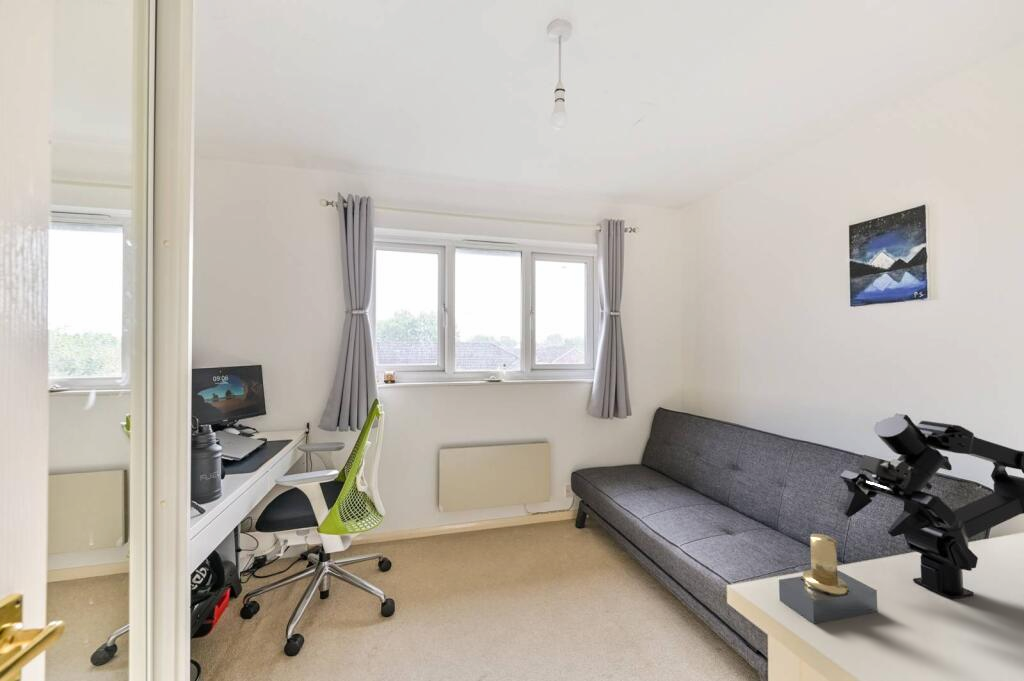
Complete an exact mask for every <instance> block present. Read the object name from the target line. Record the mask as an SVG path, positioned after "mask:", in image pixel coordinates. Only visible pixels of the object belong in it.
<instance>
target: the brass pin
mask: <svg viewBox="0 0 1024 681" xmlns="http://www.w3.org/2000/svg"><path fill="white" fill-rule="evenodd" d="M809 538H810V542H809V543H810V565H811V566H810V570H805V571H804V572H803V573H802V576H803V581H804V582H805V584H806V585H808V586H809V587H811V588H812V589H814V590H817V591H819V592H822V593H824V594H826V595H834V596H844V595H846V594H847V593H848V586H847V584H846V583H845V582H844V581H843V580H841V579H840V578H838V571H839V570H838V553H837V540H836V539H835V538H834V537H832V536H829V535H826V534H821V533H811V534H810V535H809Z"/></svg>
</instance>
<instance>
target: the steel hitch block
mask: <svg viewBox="0 0 1024 681" xmlns="http://www.w3.org/2000/svg"><path fill="white" fill-rule="evenodd" d="M837 571H838V578H840V579H841V580H843V581H844V582H845V583H846V584H847V586H848V593H847V594H846V595H844V596H834V595H826V594H824V593H822V592H819V591H817V590H814V589H812V588H811V587H809V586H808V585H806V584H805V582H804V581H803V575H801V576H796V577H787V578H781V579H778V589H779V590H778V592H779V597H778V598H779V601H780V602H782V603H783V604H784V605H786V606H787V607H788V608H790V609H791V610H793V611H795V612H796V613H797V614H799V615H800V616H801V617H804V618H805V619H806V620H808V621H809V622H810V623H812V624H819V623H826V622H831V621H836V620H842V619H846V618H847V619H848V618H851V617H857V616H863V615H867V614H874V613H878V595H877V594H878V592H877V591H878V590H876V589H875V588H873V587H871V586H869V585H867V584H865V583H863V582H862V581H859V580H857V579H856V578H854V577H852V576H850V575H849V574H847V573H846V574H845V573H844V572H842V571H840V570H837ZM873 612H874V613H873Z"/></svg>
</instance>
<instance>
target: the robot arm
mask: <svg viewBox="0 0 1024 681" xmlns="http://www.w3.org/2000/svg"><path fill="white" fill-rule="evenodd" d="M873 432H874V433H875V434H876V435H877V436H878V438H879V439H880V440H881V441H882V442H883V443H884V444H885V445H886V446H887V447H888V448H889V449H890V450H891V451H892V452H894V453H895V454H897V455H900V456H899V457H898V458H897V459H895V458H893V459H892V460H885V459H882V458H878V457H874V456H870V455H866V454H863V456H862V457H861V461H860V464H859V466H858V469H859V470H861V471H865V472H868V473H869V474H871V478H872V479H874V481H877V482H878V483H875V482H873V481H872V480H871V478H869V477H868V476H867V475H866V474H865V473H863V472H860V471H856V470H853V469H844V471H843V472H841V474H840V476H839V477H840V478H841V479H842V481H843V483H844V485H846V487H847V489H848V492H847V499H846V504H845V509H844V512H843V513H844V514H843V515H844V516H846V518H851V517H852V516H854V515H856V514H857V513H858V512H860V511H861V510H862V509H864V508H865V507H867V506H868V505H869V504H871V503H872V502H873V500H872V498H876V496H877V495H880V496H883V497H886V498H890V499H891V500H892V499H893V500H896V501H898V502H901V503H903V510H902V512H901V513H900V514H899V515H898V516H897V518H896V519H895V520H894V521H893V523H892V524H891V526H890V528H889V529H888V531H887V534H888V535H889V536H890V537H893V538H895V537H898V536H901V535H903V536H904V539H905V542H906V545H907V547H908V549H909V550H911V551H914V552H917V553H918V554H921V555H920V577H913V579H912V581H913V582H914V583H915V584H919V585H920V586H921V587H924V586H925V588H926V587H927V589H929V590H930V591H933V592H936V593H937V594H940V595H941V596H944V597H946V598H948V599H953V600H955V599H958V598H963V597H964V598H966V597H970V596H974V592H973V591H972V590H970V589H967V588H964V578H963V570H964V571H968V572H971V571H972V569H976V567H977V564H978V561H979V558H978V557H977V555H976V554H975V553H974V552H973V551H972V550H971V549H970V548H969V540H970V539H971V538H972V537H974V536H977V535H979V534H981V533H983V532H986V531H987V530H990V529H991V528H995V527H996V526H998V525H1000V524H1002V523H1004V522H1006V521H1007V522H1008V521H1010V520H1011V519H1013V518H1016V517H1017V516H1020V515H1024V477H1021V476H1016V475H1011V474H1008V472H1007V470H1006V468H1009V469H1015V470H1021V472H1022V474H1024V450H1019V449H1018V450H1017V449H1014V448H1012V447H1007V446H1005V445H1001V444H999V443H995V442H991V441H988V440H986V439H982V438H979V437H977V436H975V434H974V432H972V431H971V430H970V429H967V428H965V427H963V426H961V425H958V424H951V423H950V424H949V423H945V422H943V423H942V422H936V421H930V420H929V421H928V420H920V421H919V422H918V424H915V423H914V422H913V421H912V419H911V418H910V417H909V416H908V415H907V414H903V413H895V414H894V415H893V416H892V417H887V418H884V419H882V420H880V421H878V422H876V424H874V427H873ZM939 450H940V451H944V452H949V453H955V454H963V455H969V456H972V457H975V458H978V459H981V460H985V461H988V462H991V463H992V464H993V466H994V467H993V469H992V471H991V473H990V478H991V479H992V481H993V492H992V493H989V494H988V495H987V494H986V496H983V497H980V498H978V499H976V500H974V501H972V502H970V503H968V504H965V505H963V506H961V507H958V508H956V509H955V510H953V509H951V507H949V505H948V504H946V502H945V501H944V500H943V499H942V498H941V497H940V496H938V495H934V494H931V493H927V492H924V491H923V489H924V490H929V491H931V489H932V488H933V485H932V484H931V483H930V481H931V479H932V478H933V477H934V476H935V475H936V473H938V471H939V470H940V469H942V470H946V471H952V464H951V463H950V461H949V456H946V455H943V454H942V453H941V452H940V451H939ZM972 572H973V571H972Z"/></svg>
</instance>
